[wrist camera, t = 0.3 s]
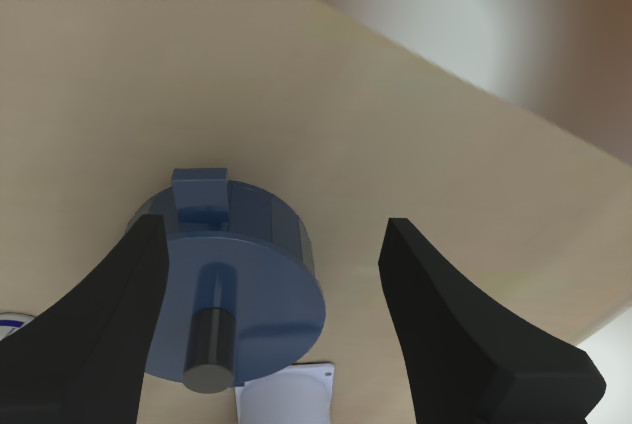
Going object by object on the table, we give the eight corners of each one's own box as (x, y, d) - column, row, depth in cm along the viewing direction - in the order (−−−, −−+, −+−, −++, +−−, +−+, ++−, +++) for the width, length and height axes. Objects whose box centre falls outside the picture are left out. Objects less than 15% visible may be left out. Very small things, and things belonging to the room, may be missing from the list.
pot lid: (330, 218, 22) (343, 287, 18) (318, 363, 29) (326, 433, 26) (69, 225, 21) (30, 301, 17) (125, 375, 28) (105, 449, 25)
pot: (315, 134, 24) (326, 186, 20) (305, 332, 34) (311, 392, 30) (92, 135, 23) (58, 191, 19) (151, 341, 33) (137, 403, 29)
